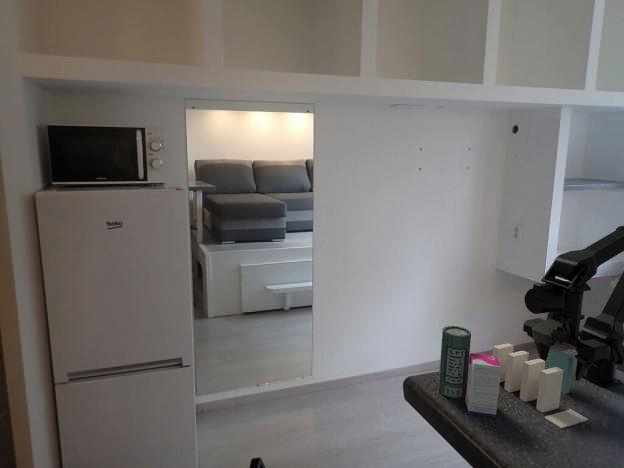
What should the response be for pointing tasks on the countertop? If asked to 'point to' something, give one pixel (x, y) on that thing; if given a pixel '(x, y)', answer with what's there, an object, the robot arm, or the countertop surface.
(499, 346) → the domino
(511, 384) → the domino
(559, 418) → the pad
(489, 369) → the supplement box
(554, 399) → the domino
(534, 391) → the domino
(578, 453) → the countertop surface
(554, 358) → the end domino
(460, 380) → the can
